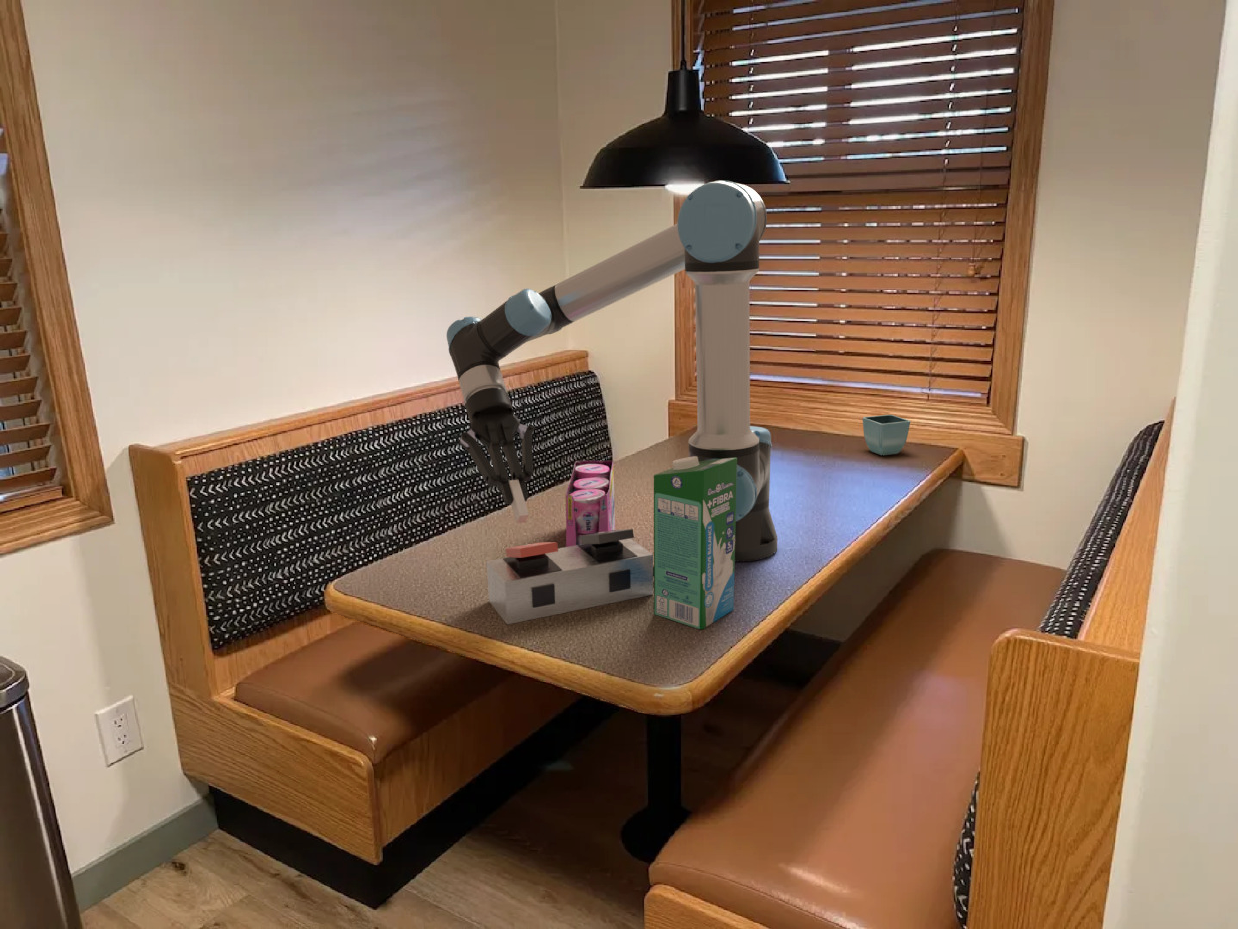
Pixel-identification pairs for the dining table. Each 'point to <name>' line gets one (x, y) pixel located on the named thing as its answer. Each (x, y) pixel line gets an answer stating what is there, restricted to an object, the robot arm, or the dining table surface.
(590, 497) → the gum box
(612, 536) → the black rocker
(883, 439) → the flower pot
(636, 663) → the dining table surface
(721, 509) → the milk carton
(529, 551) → the red rocker
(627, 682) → the dining table surface
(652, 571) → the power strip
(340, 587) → the dining table surface
